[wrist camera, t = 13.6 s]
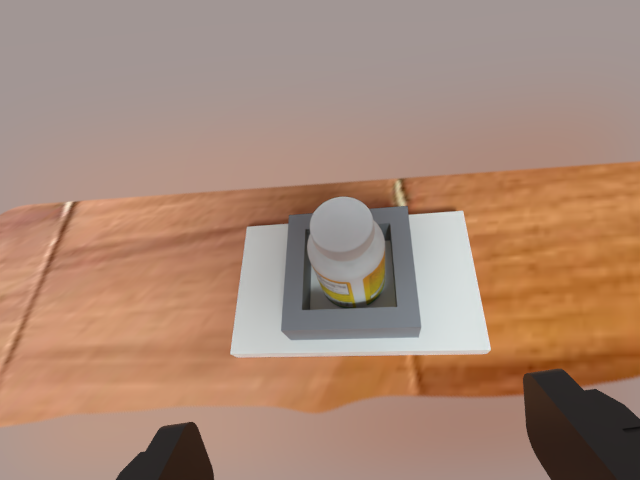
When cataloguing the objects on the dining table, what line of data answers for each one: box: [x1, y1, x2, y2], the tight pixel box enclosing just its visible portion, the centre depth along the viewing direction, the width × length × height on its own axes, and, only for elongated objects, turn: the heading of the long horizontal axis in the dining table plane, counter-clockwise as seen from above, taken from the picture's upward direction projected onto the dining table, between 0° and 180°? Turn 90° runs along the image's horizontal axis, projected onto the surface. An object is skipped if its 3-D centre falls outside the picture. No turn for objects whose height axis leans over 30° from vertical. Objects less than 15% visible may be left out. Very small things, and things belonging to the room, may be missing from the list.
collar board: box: [230, 206, 491, 358], centre depth 30 cm, size 20×12×4 cm, turn 88°
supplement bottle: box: [307, 197, 385, 309], centre depth 26 cm, size 5×5×10 cm
